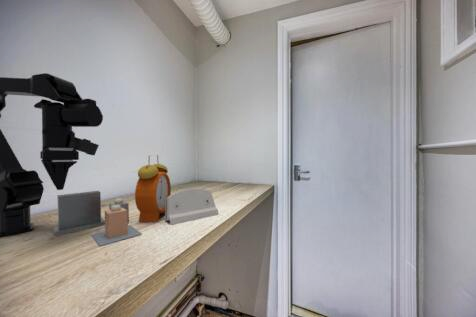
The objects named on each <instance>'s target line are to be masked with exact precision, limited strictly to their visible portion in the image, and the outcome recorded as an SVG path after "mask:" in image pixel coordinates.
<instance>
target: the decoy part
mask: <svg viewBox="0 0 476 317" xmlns="http://www.w3.org/2000/svg"><path fill="white" fill-rule="evenodd" d="M129 204H130V203H129V202H127V201H125V200H124V199H123V198H120V197H119V198H115V199H114V202H110V203H109V204H108V206H109V207H108V208H109V209H108V210H111V206H113V205H120V207H121V208H124V209H126V210H127V222H128V224H129V222H130V220H129V219H130V213H129V210H130V209H129Z"/></svg>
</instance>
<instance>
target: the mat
mask: <svg viewBox="0 0 476 317" xmlns="http://www.w3.org/2000/svg"><path fill="white" fill-rule="evenodd" d="M141 235H143V234H142V232H140V231H139V230H137V229H136V228H135V227H133V226H132V225H131V224H128V234H125V235H122V236H118V237H114V238H111V239H109V238H108V237H107V236H106V235H105V230H103V231H98V232H95V233H91V235H90V236H91V237H92V238H93V240H94V241H95V242H96V244H97V245H98V246H99V247H103V246H106V245H110V244H113V243H118V242H120V241H124V240H127V239H131V238H134V237H138V236H141Z"/></svg>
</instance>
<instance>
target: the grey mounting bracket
mask: <svg viewBox="0 0 476 317" xmlns="http://www.w3.org/2000/svg"><path fill="white" fill-rule="evenodd" d="M218 215H219V211H218V208H217V206H216V203H215V199H214V197H213V194H212V191H210V190H207V189H203V188H190V189H189V188H188V189H183V190H180V191H177V192H174V193H173V194H171V195H170V196H168V197H167V198H166V201H165V214H164V222H168V221H169V225H170V226H173V225H177V224H181V223H187V222H191V221H196V220H200V219H205V218H209V217H213V216H218Z"/></svg>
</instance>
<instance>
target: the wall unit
mask: <svg viewBox="0 0 476 317" xmlns="http://www.w3.org/2000/svg"><path fill="white" fill-rule="evenodd" d="M56 197H57V226H53V227H52V231H53V232H52V233H53V235H54V237H57V236H61V235H65V234H70V233H71V234H72V233H74V232H79V231H83V230H88V229H92V228H96V227H101V225H102V226H105V218H103V217H102V205H101V204H102V203H101V199H102V198H101V191H99V190H93V191H92V190H91V191H85V192H76V193H75V192H74V193H67V194H58V195H57V196H56Z"/></svg>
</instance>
